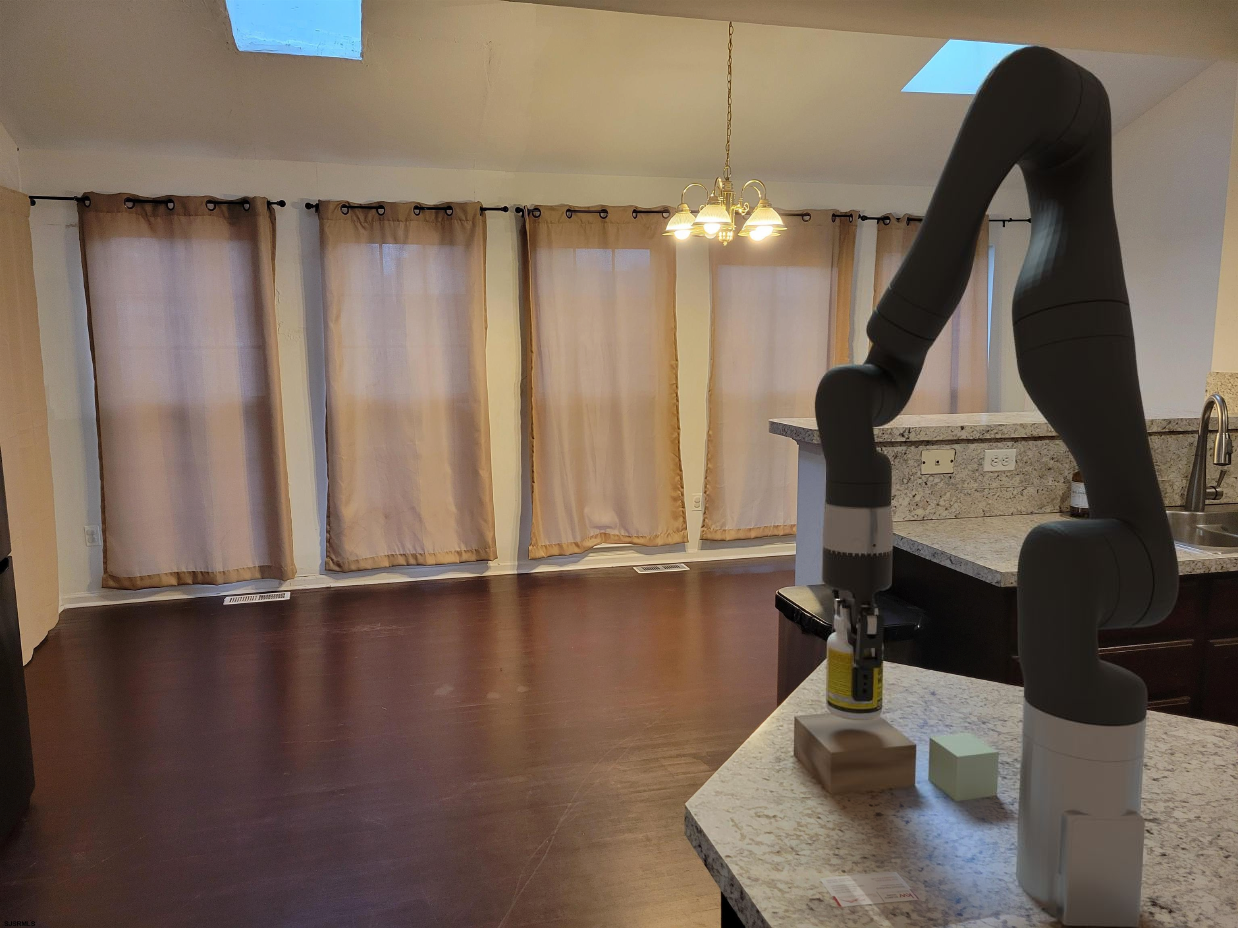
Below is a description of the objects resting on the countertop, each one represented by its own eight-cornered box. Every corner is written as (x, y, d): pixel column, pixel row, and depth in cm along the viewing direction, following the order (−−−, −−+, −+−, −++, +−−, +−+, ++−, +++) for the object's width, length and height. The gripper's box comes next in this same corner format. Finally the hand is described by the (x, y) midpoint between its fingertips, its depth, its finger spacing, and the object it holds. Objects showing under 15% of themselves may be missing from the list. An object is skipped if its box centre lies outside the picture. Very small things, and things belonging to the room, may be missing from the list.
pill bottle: (889, 722, 91) (891, 624, 90) (832, 722, 91) (834, 624, 90) (873, 700, 97) (875, 609, 96) (820, 700, 97) (822, 609, 96)
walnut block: (915, 787, 91) (916, 744, 91) (830, 797, 89) (831, 752, 89) (870, 748, 101) (871, 709, 100) (793, 756, 99) (794, 715, 99)
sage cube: (997, 796, 89) (998, 751, 88) (956, 801, 88) (957, 756, 87) (967, 774, 94) (969, 732, 93) (928, 779, 93) (929, 736, 92)
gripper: (911, 557, 85) (907, 714, 87) (873, 532, 99) (870, 667, 101) (838, 557, 85) (835, 713, 87) (811, 532, 100) (808, 667, 101)
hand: (854, 688), depth 94 cm, fingers closed on pill bottle, 6 cm apart
